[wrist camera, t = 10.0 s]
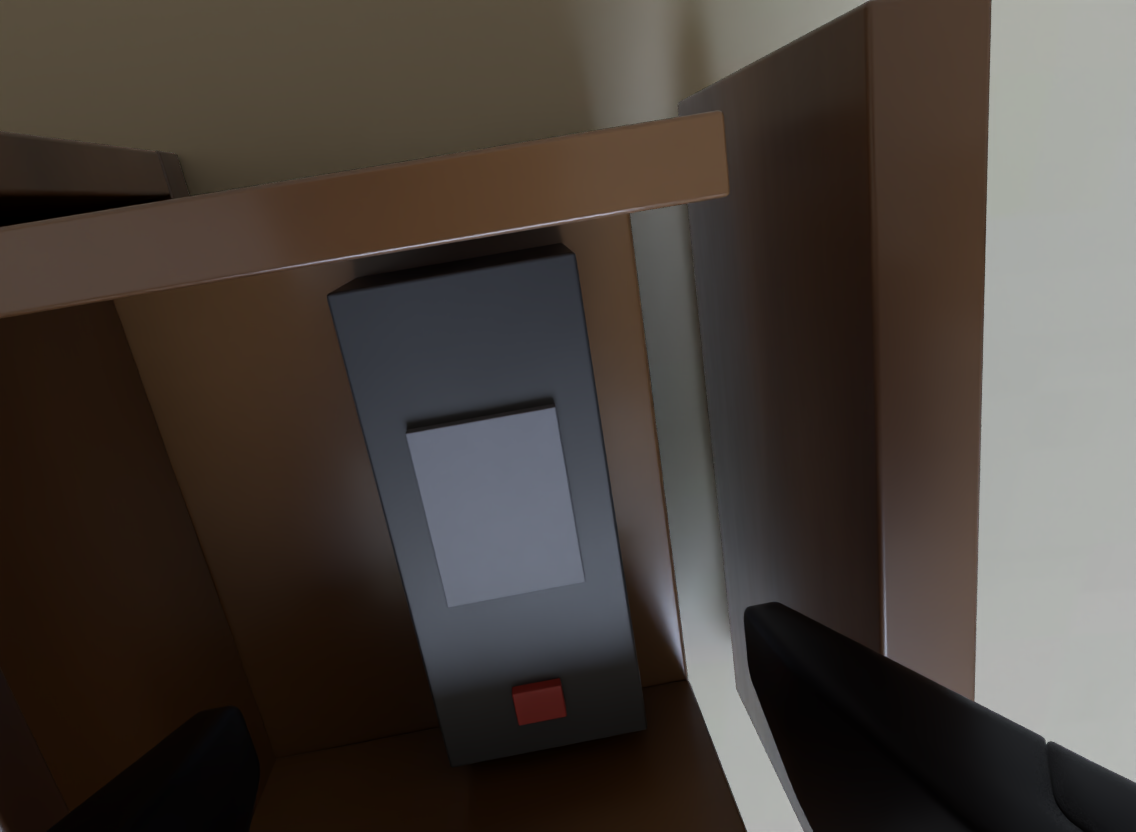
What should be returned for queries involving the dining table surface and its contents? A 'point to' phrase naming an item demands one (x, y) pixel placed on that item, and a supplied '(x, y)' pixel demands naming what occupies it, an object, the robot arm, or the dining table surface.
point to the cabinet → (26, 194)
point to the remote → (496, 496)
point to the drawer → (621, 370)
